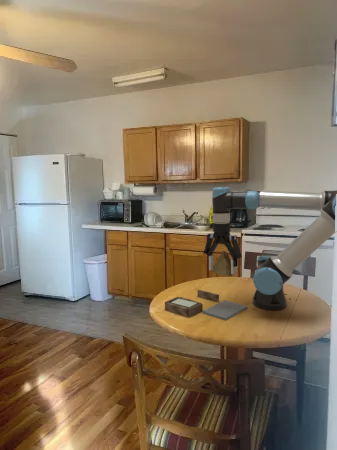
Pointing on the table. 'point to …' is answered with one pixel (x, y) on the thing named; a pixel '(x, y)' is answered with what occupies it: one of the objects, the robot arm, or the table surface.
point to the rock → (223, 265)
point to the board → (224, 310)
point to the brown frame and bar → (192, 310)
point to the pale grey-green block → (184, 303)
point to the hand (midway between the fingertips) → (222, 271)
